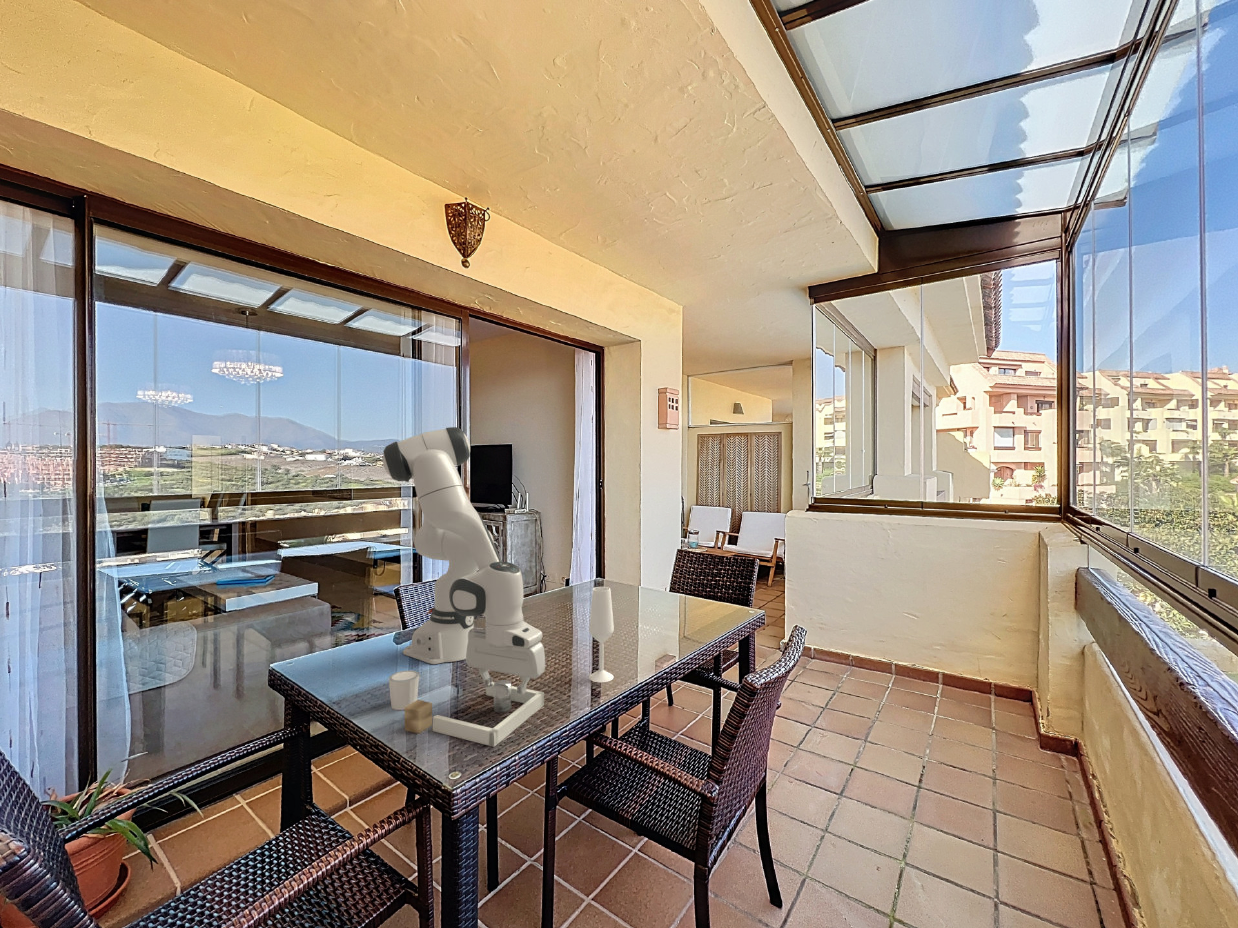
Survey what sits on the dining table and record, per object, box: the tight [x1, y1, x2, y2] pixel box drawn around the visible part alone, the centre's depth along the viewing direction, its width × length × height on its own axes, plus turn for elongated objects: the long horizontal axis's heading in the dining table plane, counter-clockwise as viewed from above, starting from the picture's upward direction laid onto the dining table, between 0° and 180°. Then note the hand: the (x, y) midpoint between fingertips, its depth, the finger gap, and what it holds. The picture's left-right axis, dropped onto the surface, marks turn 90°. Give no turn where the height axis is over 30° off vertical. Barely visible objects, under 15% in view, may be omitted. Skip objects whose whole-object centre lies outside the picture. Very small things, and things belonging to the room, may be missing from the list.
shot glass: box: [388, 669, 420, 711], centre depth 128 cm, size 7×7×7 cm
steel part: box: [493, 679, 512, 714], centre depth 126 cm, size 4×4×6 cm
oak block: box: [404, 699, 433, 735], centre depth 117 cm, size 4×4×5 cm
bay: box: [432, 681, 545, 747], centre depth 122 cm, size 16×20×3 cm
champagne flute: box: [588, 586, 615, 683], centre depth 144 cm, size 7×7×24 cm
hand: (504, 689), depth 126 cm, fingers open, 8 cm apart
